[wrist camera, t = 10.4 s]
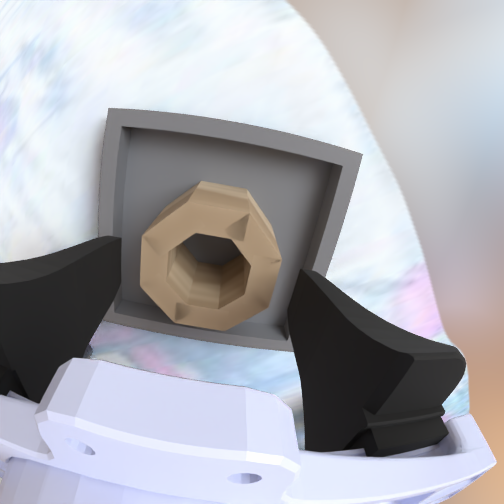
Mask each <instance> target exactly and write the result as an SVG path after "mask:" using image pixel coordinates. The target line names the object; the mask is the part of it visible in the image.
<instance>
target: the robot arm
mask: <svg viewBox="0 0 504 504" xmlns="http://www.w3.org/2000/svg"><path fill="white" fill-rule="evenodd" d="M121 247H122V238H120V237H114V236H109V235H108V236H102V237H99V238H96V239H93V240H90V241H87V242H84V243H81V244H79V245H76V246H73V247H70V248H67V249H64V250H61V251H58V252H55V253H52V254H48V255H45V256H41V257H36V258H32V259H27V260H21V261H14V262H7V263H0V477H1V478H2V481H1V484H0V504H438V503H440V502H442V501H444V500H446V499H448V498H450V497H452V496H453V495H455V494H457V493H458V492H460V491H461V490H463V489H464V488H465V487H467V486H468V485H470V484H471V483H472V482H474V481H475V480H476V479H478V478H479V477H480V476H482V475H483V474H484V473H486V472H487V471H488V470H489V469H490V468H492V467H493V466H494V465H495V464H496V462H497V461H496V459H495V457H494V455H493V453H492V451H491V450H490V448H489V446H488V444H487V442H486V440H485V438H484V436H483V435H482V433H481V431H480V429H479V427H478V426H477V424H476V422H475V420H474V419H473V417H472V415H471V414H466V415H463V416H459V417H456V418H453V419H450V420H448V421H447V422H445V423H444V422H443V420H442V418H441V416H443V415H444V414H445V410H444V408H443V406H442V404H443V402H444V401H445V400H446V399H447V398H448V396H449V395H450V394H451V393H452V391H453V390H454V389H455V388H456V386H457V385H458V383H459V382H460V380H461V379H462V377H463V375H464V372H465V368H466V361H465V358H464V357H463V356H462V354H461V353H460V352H459V350H458V349H457V348H456V347H454V346H450V345H446V344H443V343H439V342H435V341H432V340H429V339H426V338H423V337H420V336H418V335H415V334H413V333H410V332H408V331H405V330H403V329H401V328H399V327H397V326H395V325H393V324H391V323H389V322H387V321H385V320H383V319H382V318H380V317H378V316H377V315H375V314H373V313H372V312H370V311H368V310H367V309H365V308H364V307H363V306H361V305H360V304H358V303H357V302H356V301H354V300H353V299H351V298H350V297H349V296H347V295H346V294H345V293H344V292H342V291H341V290H340V289H339V288H337V287H336V286H335V285H334V284H332V283H331V282H330V281H329V280H327V279H326V278H325V277H323V276H322V275H321V274H319V273H318V272H316V271H312V270H306V269H300V271H299V275H298V278H297V281H296V284H295V287H294V290H293V294H292V297H291V300H290V303H289V306H288V309H287V316H288V328H289V334H290V338H291V342H292V346H293V350H294V354H295V358H296V362H297V366H298V370H299V375H300V380H301V388H302V398H303V410H304V427H305V450H300V449H298V443H297V437H296V431H295V425H294V419H293V413H292V409H291V408H290V407H289V406H287V405H286V404H285V403H284V402H283V401H282V400H281V399H280V398H278V397H277V396H276V395H274V394H271V393H267V392H263V391H259V390H255V389H252V388H248V387H244V386H236V385H227V384H219V383H212V382H205V381H198V380H192V379H186V378H180V377H175V376H169V375H164V374H159V373H154V372H150V371H145V370H140V369H136V368H132V367H128V366H123V365H119V364H116V363H112V362H108V361H104V360H95V359H84V358H83V356H84V353H85V351H86V348H87V346H88V344H89V342H90V340H91V338H92V336H93V335H94V333H95V331H96V329H97V328H98V326H99V324H100V323H101V321H102V319H103V318H104V316H105V314H106V313H107V311H108V309H109V308H110V306H111V304H112V303H113V301H114V299H115V296H116V294H117V292H118V289H119V287H120V285H121Z"/></svg>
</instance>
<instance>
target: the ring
mask: <svg viewBox="0 0 504 504" xmlns="http://www.w3.org/2000/svg"><path fill="white" fill-rule="evenodd" d="M195 233H199V234H205V235H211V236H217V237H223V238H228V239H232V241H233V242H234V243H235V245H236V246H237V247H238V249H239V250H240V251H241V253H242V254H241V255H239V256H237V257H236V258H234V259H233V260H231V261H229V262H228V263H226V264H225V265H223V266H221V265H215V264H209V263H203V262H198V261H197V260H196V259H195V257H194V256H193V255H192V254H191V252H190V251H189V250H188V249H187V247H186V246H185V245H184V244H183V241H184V240H186V239H187V238H189V237H190V236H192V235H193V234H195ZM281 262H282V258H281V255H280V251H279V248H278V245H277V241H276V238H275V235H274V232H273V228H272V225H271V224H270V222H269V221H268V219H267V218H266V216H265V215H264V213H263V212H262V210H261V209H260V207H259V206H258V204H257V203H256V202H255V200H254V199H253V197H252V196H251V194H250V193H249V191H248V190H247V189H245V188H239V187H234V186H228V185H223V184H217V183H211V182H205V181H200V182H199V183H197V184H196V185H195V186H193V187H192V188H190V189H189V190H188V191H186V192H185V193H183V194H182V195H181V196H179V197H178V198H177V199H175V200H174V201H173V202H171V203H170V204H169V205H167V206H166V207H165V208H164V209H163V210H162V212H161V213H160V214H159V215H158V217H157V218H156V219H155V220H154V221H153V223H152V224H151V225H150V226H149V228H148V229H147V230H146V231H145V233H144V234H143V235H142V244H141V267H140V286H141V288H142V289H143V290H144V291H145V292H146V293H147V294H148V295H149V296H150V297H151V299H152V300H153V301H154V302H155V303H156V304H157V305H158V306H159V307H160V308H161V309H162V310H163V311H164V312H165V313H166V314H167V316H168V317H169V318H170V319H171V320H172V321H173V322H174V323H179V324H184V325H190V326H196V327H202V328H208V329H214V330H221V331H226V330H228V329H230V328H232V327H234V326H236V325H237V324H239V323H241V322H243V321H245V320H247V319H249V318H250V317H252V316H254V315H256V314H258V313H260V312H261V311H263V310H265V309H267V308H269V305H270V301H271V298H272V294H273V291H274V287H275V284H276V280H277V276H278V273H279V269H280V266H281Z"/></svg>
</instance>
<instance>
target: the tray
mask: <svg viewBox="0 0 504 504" xmlns="http://www.w3.org/2000/svg"><path fill="white" fill-rule="evenodd" d="M362 155H363V154H361V153H358V152H355V151H351V150H348V149H345V148H342V147H338V146H335V145H331V144H328V143H324V142H321V141H317V140H313V139H310V138H306V137H302V136H298V135H294V134H290V133H286V132H281V131H277V130H272V129H268V128H263V127H258V126H253V125H248V124H243V123H238V122H232V121H226V120H221V119H214V118H208V117H201V116H194V115H186V114H178V113H169V112H159V111H148V110H135V109H118V108H109V109H108V115H107V121H106V129H105V136H104V144H103V154H102V164H101V177H100V193H99V230H98V237H102V236H108V235H109V236H114V237H120V238H122V247H121V285H120V287H119V289H118V292H117V294H116V296H115V299H114V301H113V303H112V304H111V306H110V308H109V309H108V311H107V313H106V314H105V316H104V318H103V320H104V321H108V322H112V323H116V324H120V325H125V326H129V327H133V328H138V329H143V330H147V331H152V332H157V333H162V334H167V335H173V336H178V337H184V338H189V339H195V340H201V341H208V342H214V343H221V344H228V345H235V346H243V347H251V348H259V349H268V350H278V351H288V352H294V350H293V346H292V342H291V338H290V334H289V328H288V316H287V309H288V306H289V303H290V300H291V297H292V294H293V290H294V287H295V284H296V281H297V278H298V275H299V271H300V269H306V270H312V271H316V272H318V273H319V274H321V275H322V276H323V277H325V276H326V273H327V271H328V268H329V265H330V262H331V259H332V256H333V253H334V250H335V247H336V244H337V241H338V238H339V235H340V232H341V228H342V225H343V222H344V219H345V215H346V212H347V209H348V206H349V202H350V199H351V195H352V192H353V188H354V185H355V181H356V178H357V174H358V170H359V167H360V163H361V159H362ZM200 181H205V182H211V183H217V184H223V185H228V186H234V187H239V188H245V189H247V190H248V191H249V193H250V194H251V196H252V197H253V199H254V200H255V202H256V203H257V204H258V206H259V207H260V209H261V210H262V212H263V213H264V215H265V216H266V218H267V219H268V221H269V222H270V224H271V225H272V228H273V232H274V235H275V238H276V241H277V245H278V248H279V251H280V255H281V258H282V262H281V266H280V269H279V273H278V276H277V280H276V284H275V287H274V291H273V294H272V298H271V301H270V305H269V308H267V309H265V310H263V311H261V312H260V313H258V314H256V315H254V316H252V317H250V318H249V319H247V320H245V321H243V322H241V323H239V324H237V325H236V326H234V327H232V328H230V329H228V330H226V331H221V330H214V329H208V328H202V327H196V326H190V325H184V324H179V323H174V322H173V321H172V320H171V319H170V318H169V317H168V316H167V314H166V313H165V312H164V311H163V310H162V309H161V308H160V307H159V306H158V305H157V304H156V303H155V302H154V301H153V300H152V299H151V297H150V296H149V295H148V294H147V293H146V292H145V291H144V290H143V289H142V288H141V286H140V267H141V244H142V235H143V234H144V233H145V231H146V230H147V229H148V228H149V226H150V225H151V224H152V223H153V221H154V220H155V219H156V218H157V217H158V215H159V214H160V213H161V212H162V210H163V209H164V208H165V207H166V206H167V205H169V204H170V203H171V202H173V201H174V200H175V199H177V198H178V197H179V196H181V195H182V194H183V193H185V192H186V191H188V190H189V189H190V188H192V187H193V186H195V185H196V184H197V183H199V182H200ZM183 244H184V245H185V246H186V247H187V249H188V250H189V251H190V252H191V254H192V255H193V256H194V257H195V259H196V260H197V261H198V262H203V263H209V264H215V265H221V266H223V265H225V264H226V263H228V262H229V261H231V260H233V259H234V258H236V257H237V256H239V255H241V254H242V253H241V251H240V250H239V249H238V247H237V246H236V245H235V243H234V242H233V241H232V239H228V238H223V237H217V236H211V235H205V234H199V233H195V234H193V235H192V236H190V237H189V238H187V239H186V240H184V241H183Z"/></svg>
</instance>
